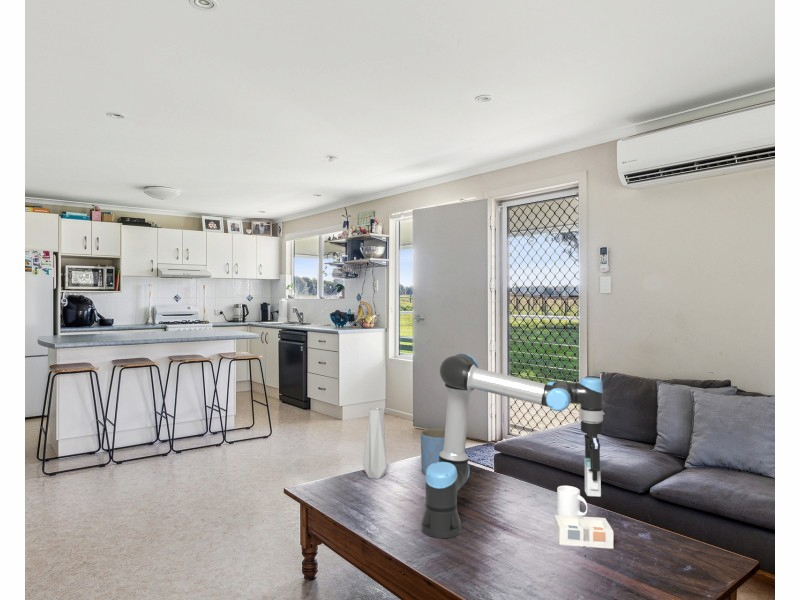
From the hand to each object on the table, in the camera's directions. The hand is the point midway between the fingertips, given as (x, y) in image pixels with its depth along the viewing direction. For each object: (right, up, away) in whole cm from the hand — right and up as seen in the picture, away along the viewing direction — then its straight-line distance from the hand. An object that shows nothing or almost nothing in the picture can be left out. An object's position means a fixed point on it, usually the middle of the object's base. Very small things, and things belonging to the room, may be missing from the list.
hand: (592, 486), depth 179 cm
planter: (-49, -20, +72) cm, 90 cm away
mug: (-1, -20, +19) cm, 28 cm away
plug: (0, -3, 0) cm, 3 cm away
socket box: (-3, -19, +1) cm, 20 cm away
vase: (-81, -20, +65) cm, 106 cm away
